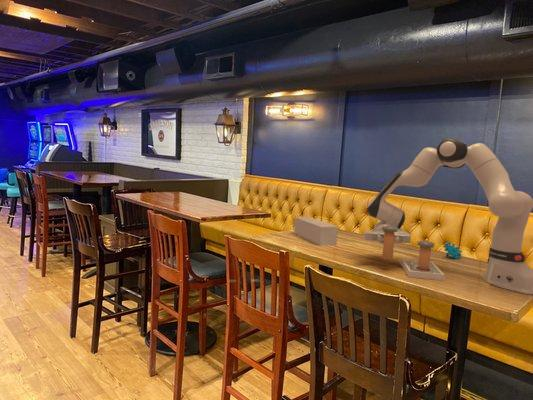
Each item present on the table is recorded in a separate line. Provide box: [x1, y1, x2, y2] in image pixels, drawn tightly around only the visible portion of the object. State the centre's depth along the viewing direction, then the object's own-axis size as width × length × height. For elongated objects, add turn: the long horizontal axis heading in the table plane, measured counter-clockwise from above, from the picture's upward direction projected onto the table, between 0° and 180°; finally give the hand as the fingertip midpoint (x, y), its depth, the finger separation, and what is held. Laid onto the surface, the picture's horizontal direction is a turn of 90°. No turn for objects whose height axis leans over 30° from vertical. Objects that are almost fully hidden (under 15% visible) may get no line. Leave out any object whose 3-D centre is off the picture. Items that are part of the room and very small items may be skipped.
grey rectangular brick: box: [293, 216, 339, 247], centre depth 238 cm, size 32×11×11 cm, turn 23°
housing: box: [400, 258, 445, 281], centre depth 177 cm, size 20×14×4 cm
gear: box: [443, 241, 463, 260], centre depth 212 cm, size 11×6×10 cm
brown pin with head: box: [382, 226, 398, 261], centre depth 178 cm, size 7×7×14 cm
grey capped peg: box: [417, 240, 435, 271], centre depth 172 cm, size 7×7×14 cm
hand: (389, 240), depth 176 cm, fingers closed on brown pin with head, 4 cm apart
